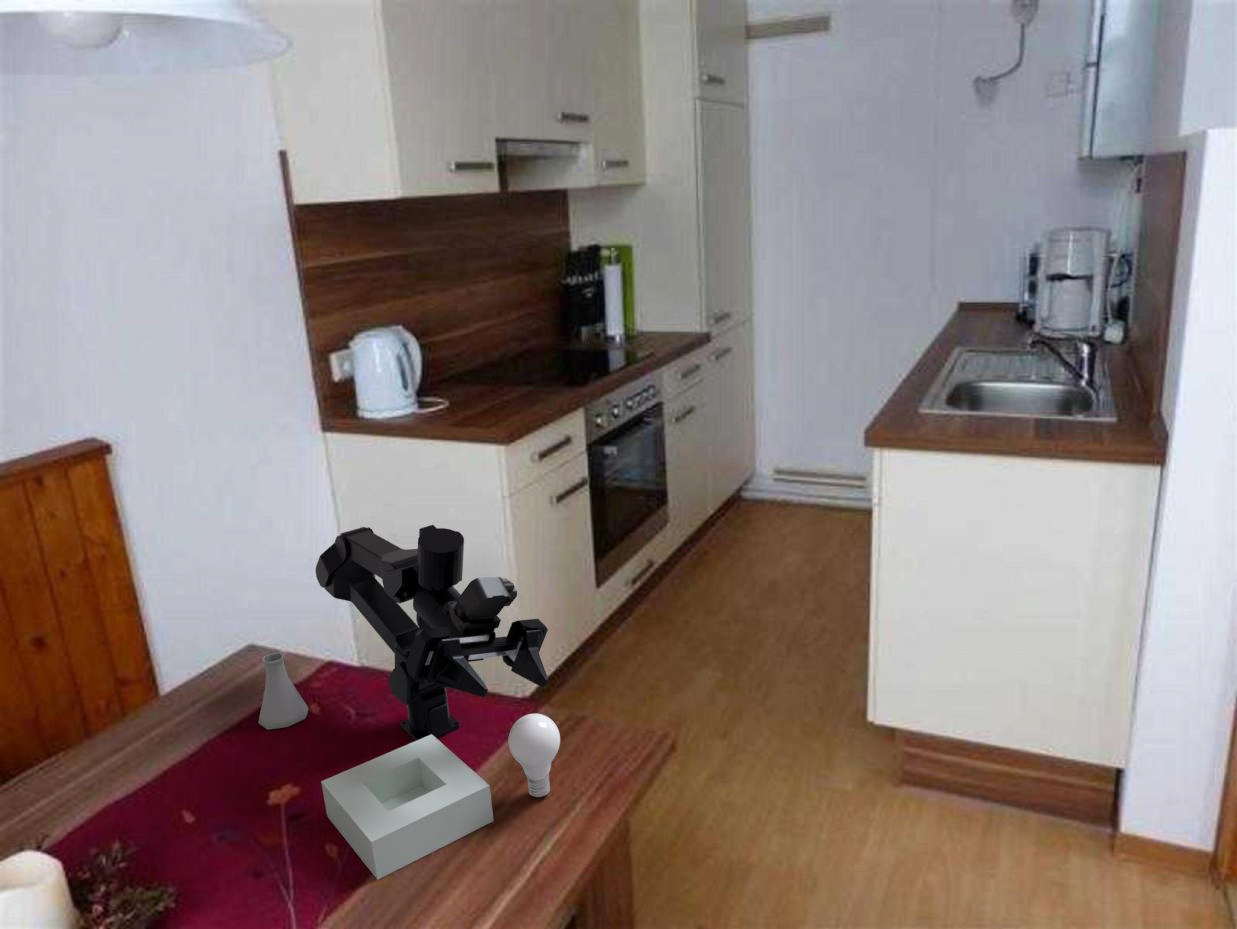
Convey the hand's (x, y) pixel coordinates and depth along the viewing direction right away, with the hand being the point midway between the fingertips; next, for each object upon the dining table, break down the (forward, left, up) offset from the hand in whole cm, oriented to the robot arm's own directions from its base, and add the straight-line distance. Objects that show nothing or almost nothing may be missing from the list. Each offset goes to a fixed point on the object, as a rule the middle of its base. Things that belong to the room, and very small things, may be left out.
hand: (517, 688), depth 111 cm
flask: (-43, -16, -17) cm, 49 cm away
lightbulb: (-1, +2, -17) cm, 17 cm away
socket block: (-8, -12, -16) cm, 22 cm away
